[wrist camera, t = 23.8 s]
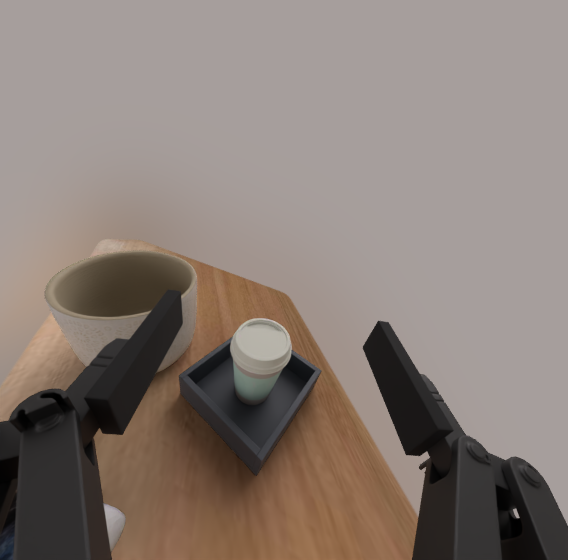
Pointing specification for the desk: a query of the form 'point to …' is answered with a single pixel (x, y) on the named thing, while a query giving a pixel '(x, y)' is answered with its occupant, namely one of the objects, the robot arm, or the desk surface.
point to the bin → (242, 417)
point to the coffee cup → (258, 358)
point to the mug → (3, 544)
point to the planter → (120, 299)
